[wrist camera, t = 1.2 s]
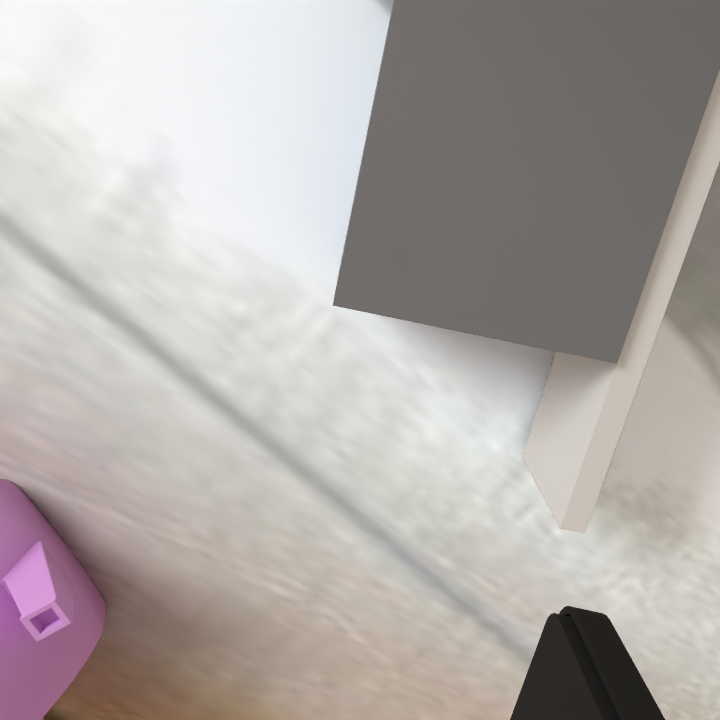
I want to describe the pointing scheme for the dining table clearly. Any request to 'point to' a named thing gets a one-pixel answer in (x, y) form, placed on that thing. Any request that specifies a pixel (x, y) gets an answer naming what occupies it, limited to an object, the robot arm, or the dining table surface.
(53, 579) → the teakettle
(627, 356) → the door
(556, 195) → the block
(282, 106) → the dining table surface
